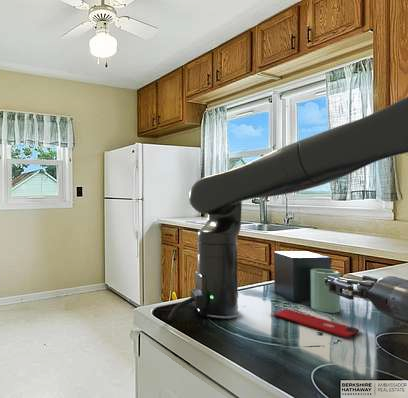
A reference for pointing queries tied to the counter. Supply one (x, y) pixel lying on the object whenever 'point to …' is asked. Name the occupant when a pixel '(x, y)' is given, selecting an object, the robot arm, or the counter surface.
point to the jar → (323, 291)
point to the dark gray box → (297, 273)
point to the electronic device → (317, 323)
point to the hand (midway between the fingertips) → (345, 280)
